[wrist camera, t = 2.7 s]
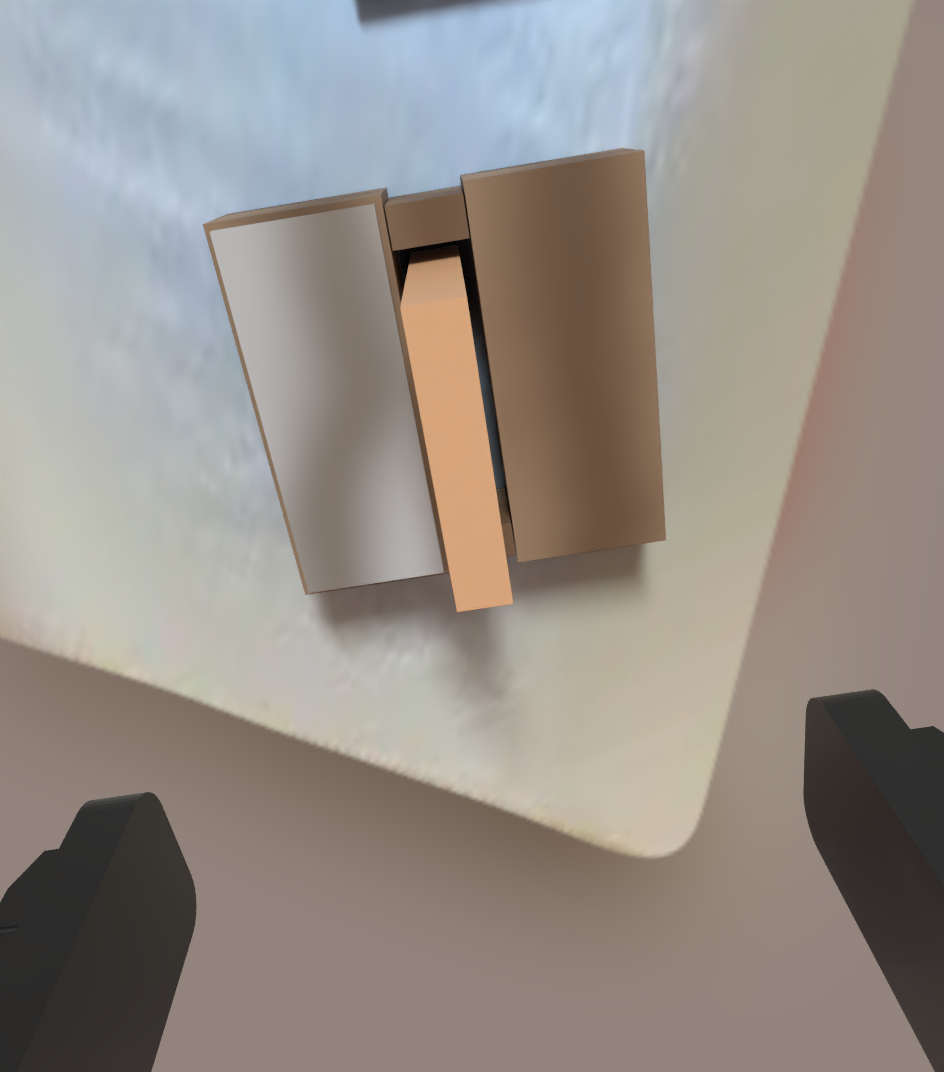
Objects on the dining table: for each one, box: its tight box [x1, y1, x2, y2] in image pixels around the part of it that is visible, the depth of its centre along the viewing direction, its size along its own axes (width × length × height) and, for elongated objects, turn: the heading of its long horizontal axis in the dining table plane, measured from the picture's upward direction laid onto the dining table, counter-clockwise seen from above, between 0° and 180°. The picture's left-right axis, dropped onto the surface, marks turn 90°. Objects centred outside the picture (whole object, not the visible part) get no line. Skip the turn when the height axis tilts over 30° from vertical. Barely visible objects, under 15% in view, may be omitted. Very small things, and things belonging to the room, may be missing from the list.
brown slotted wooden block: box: [203, 148, 666, 595], centre depth 27 cm, size 12×12×3 cm
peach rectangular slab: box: [400, 245, 513, 612], centre depth 24 cm, size 2×8×9 cm, turn 9°
